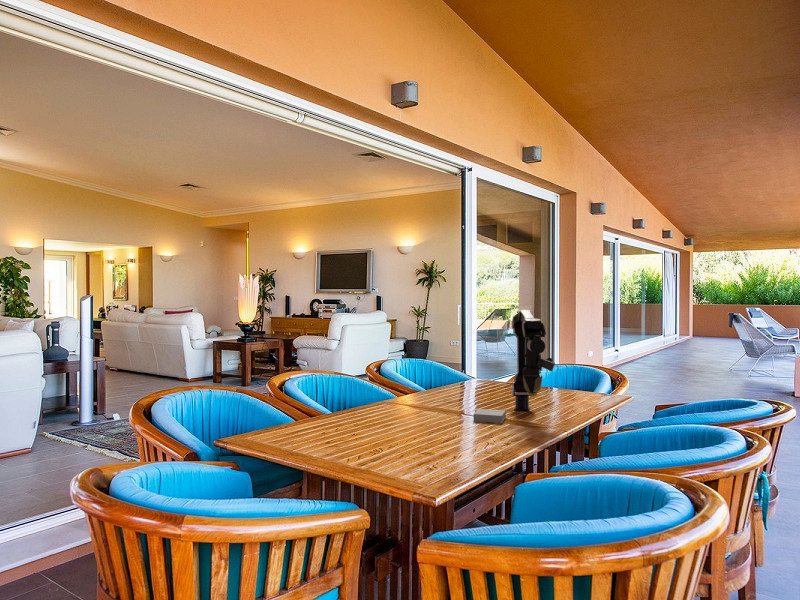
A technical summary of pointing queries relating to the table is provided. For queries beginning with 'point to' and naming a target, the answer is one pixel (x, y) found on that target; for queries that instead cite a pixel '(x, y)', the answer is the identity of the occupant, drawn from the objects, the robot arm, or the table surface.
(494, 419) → the plinth
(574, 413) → the table surface
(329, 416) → the table surface
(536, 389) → the ornate bronze lamp shade
